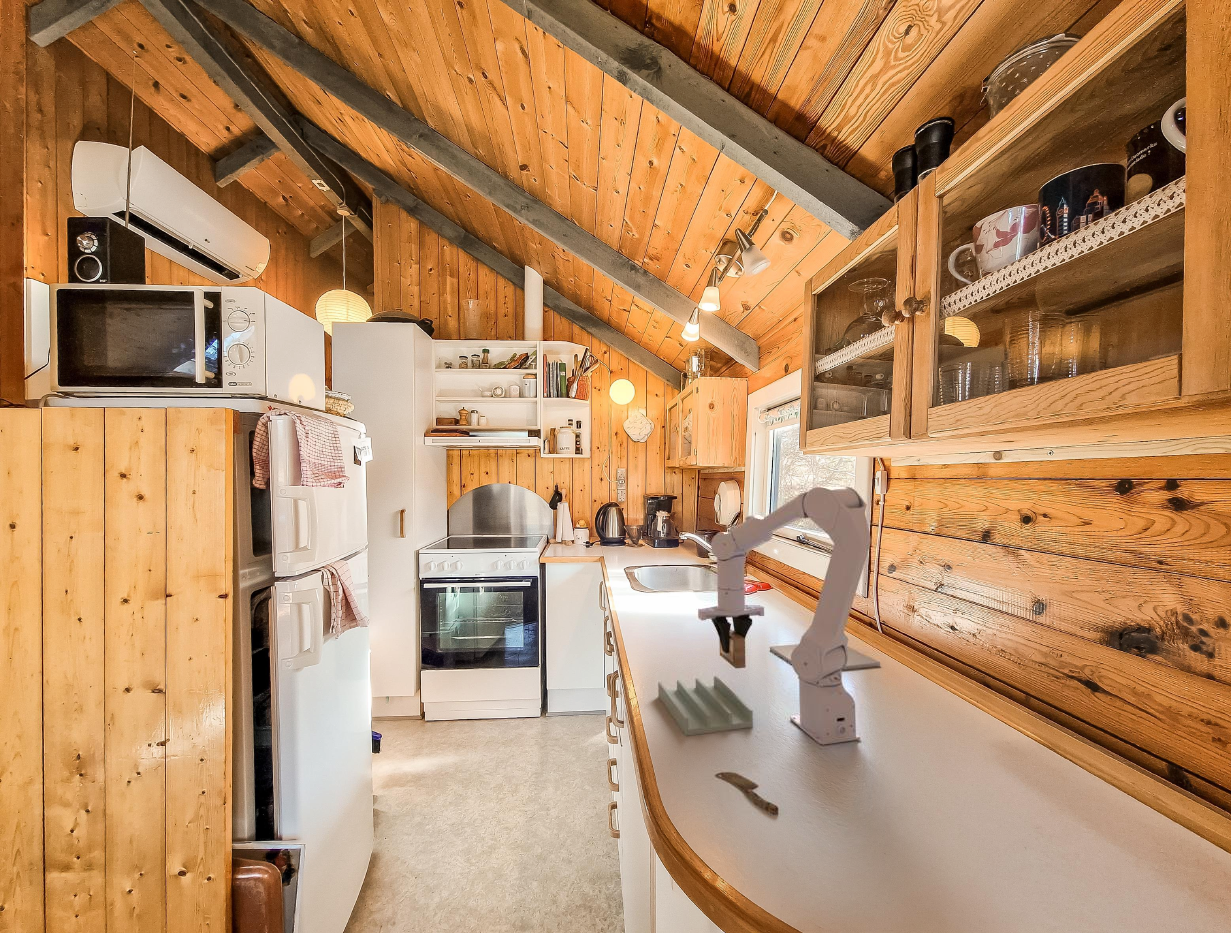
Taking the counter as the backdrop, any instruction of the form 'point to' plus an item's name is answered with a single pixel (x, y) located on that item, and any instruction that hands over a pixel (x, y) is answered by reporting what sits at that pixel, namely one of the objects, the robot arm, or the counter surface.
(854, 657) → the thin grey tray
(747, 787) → the brown knife
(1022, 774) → the counter surface
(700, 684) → the notched rack
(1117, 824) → the counter surface
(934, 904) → the counter surface
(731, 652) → the tan wooden slab
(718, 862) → the counter surface
